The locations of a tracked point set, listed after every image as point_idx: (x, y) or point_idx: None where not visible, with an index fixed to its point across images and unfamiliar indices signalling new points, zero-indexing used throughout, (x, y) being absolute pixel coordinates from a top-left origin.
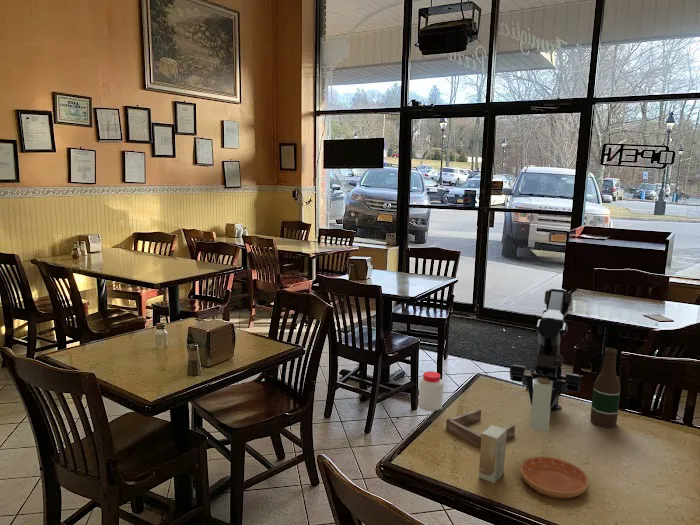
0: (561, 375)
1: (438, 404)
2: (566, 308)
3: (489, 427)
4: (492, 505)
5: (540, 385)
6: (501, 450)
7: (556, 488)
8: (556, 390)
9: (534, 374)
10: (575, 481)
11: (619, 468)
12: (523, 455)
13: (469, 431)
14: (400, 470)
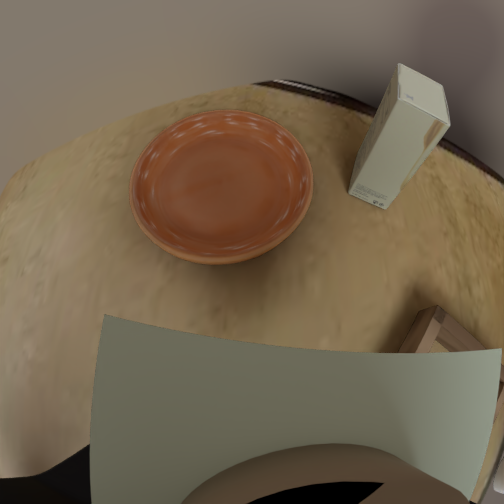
0: None
1: None
2: None
3: (445, 111)
4: (341, 97)
5: (386, 353)
6: (378, 119)
7: (217, 154)
8: (89, 474)
9: None
10: (161, 199)
11: (41, 319)
12: (303, 318)
13: (471, 335)
14: (490, 168)
